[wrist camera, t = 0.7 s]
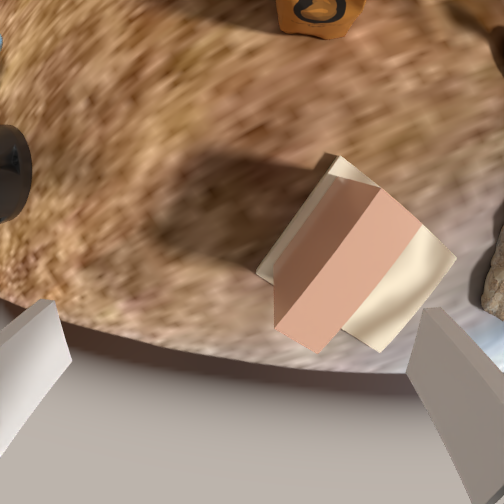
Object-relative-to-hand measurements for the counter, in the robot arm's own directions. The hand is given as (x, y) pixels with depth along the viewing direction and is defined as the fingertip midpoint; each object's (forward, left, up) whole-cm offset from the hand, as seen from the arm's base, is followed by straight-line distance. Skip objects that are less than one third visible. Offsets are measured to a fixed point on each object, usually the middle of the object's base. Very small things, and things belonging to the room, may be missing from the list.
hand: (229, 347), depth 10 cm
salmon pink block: (+6, +2, -25) cm, 26 cm away
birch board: (+13, +2, -26) cm, 30 cm away
